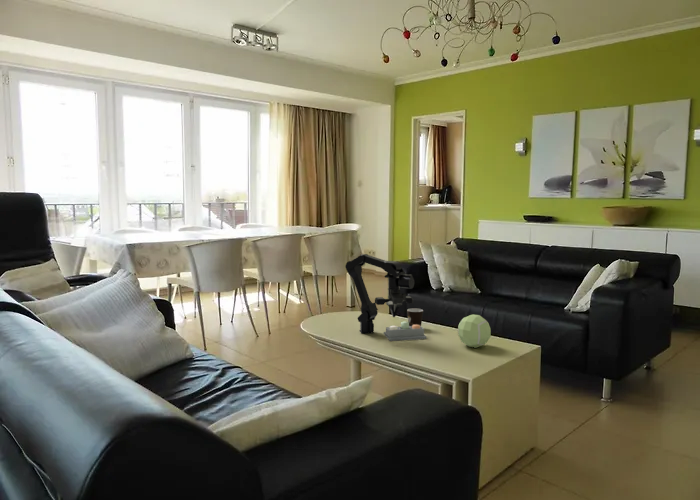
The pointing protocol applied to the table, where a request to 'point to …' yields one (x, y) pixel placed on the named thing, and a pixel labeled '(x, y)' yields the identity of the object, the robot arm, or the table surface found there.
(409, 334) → the grey compartment tray
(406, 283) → the robot arm
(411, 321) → the coffee mug
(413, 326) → the terracotta button
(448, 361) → the table surface
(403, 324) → the sage button
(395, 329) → the ivory button
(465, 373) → the table surface
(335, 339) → the table surface
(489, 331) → the decorative sphere
